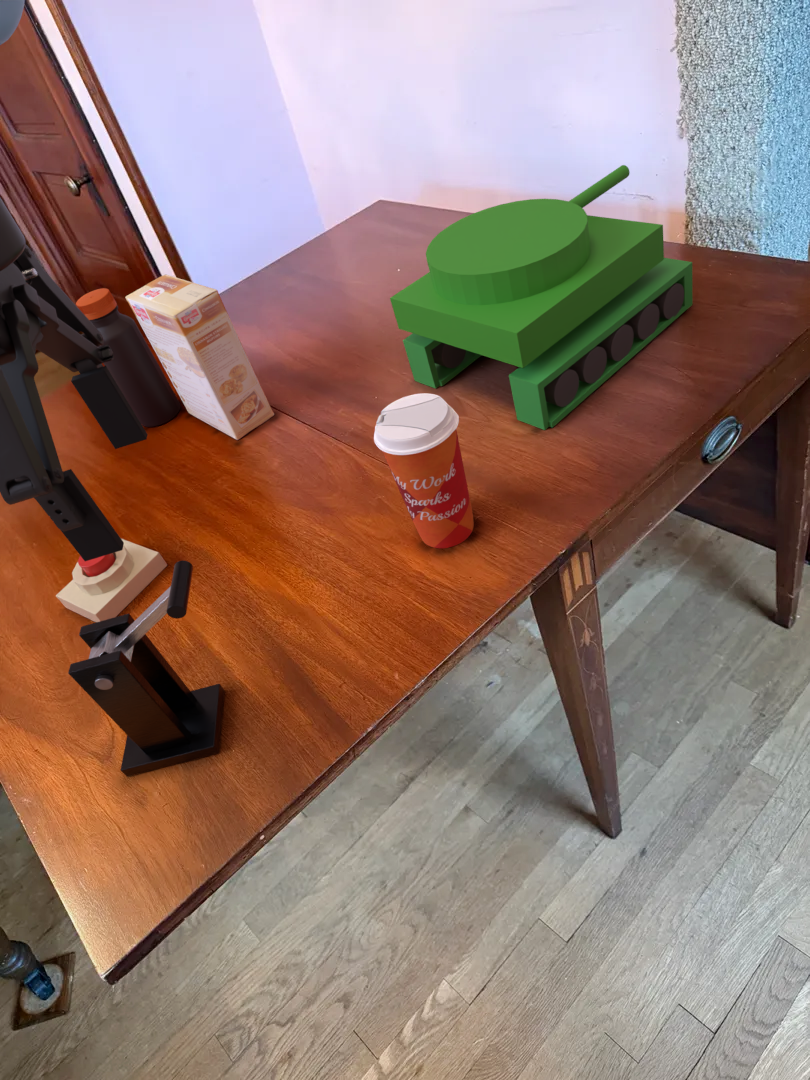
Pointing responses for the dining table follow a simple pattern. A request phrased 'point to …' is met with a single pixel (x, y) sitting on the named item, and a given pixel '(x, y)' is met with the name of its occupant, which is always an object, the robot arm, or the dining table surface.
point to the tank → (542, 299)
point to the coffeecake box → (201, 353)
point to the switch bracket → (149, 702)
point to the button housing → (112, 583)
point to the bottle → (131, 360)
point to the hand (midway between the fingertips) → (119, 492)
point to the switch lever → (151, 614)
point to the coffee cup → (427, 466)
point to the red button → (96, 564)
